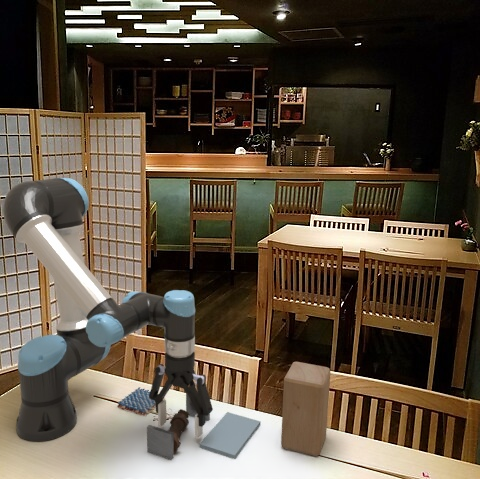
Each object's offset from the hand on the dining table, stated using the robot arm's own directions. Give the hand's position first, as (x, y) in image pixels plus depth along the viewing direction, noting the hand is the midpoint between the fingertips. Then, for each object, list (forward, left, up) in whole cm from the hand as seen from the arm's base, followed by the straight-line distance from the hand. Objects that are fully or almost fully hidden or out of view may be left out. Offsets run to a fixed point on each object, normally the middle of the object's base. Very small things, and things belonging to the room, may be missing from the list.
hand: (180, 430), depth 130 cm
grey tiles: (0, 0, -1) cm, 1 cm away
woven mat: (-18, +8, -2) cm, 20 cm away
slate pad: (+12, +6, -1) cm, 13 cm away
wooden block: (+30, +12, -2) cm, 32 cm away
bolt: (-1, -1, -2) cm, 2 cm away
